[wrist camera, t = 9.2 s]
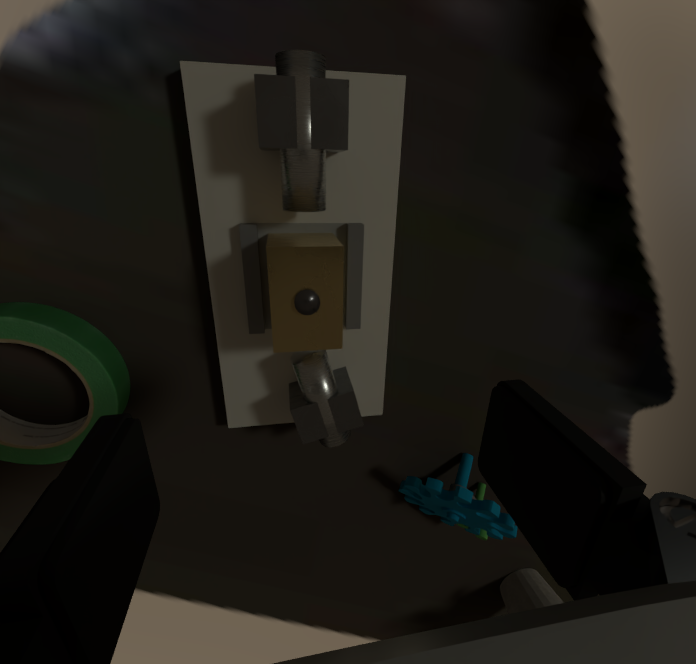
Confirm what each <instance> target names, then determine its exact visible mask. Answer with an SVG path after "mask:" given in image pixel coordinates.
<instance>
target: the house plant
mask: <svg viewBox="0 0 696 664" xmlns="http://www.w3.org/2000/svg"><path fill="white" fill-rule="evenodd" d="M500 592H501V595H502V598H503V601H504V604H505V606H506V609H507V612H508V614H511V613H516V612H521V611H526V610H531V609H536V608H541V607H546V606H551V605H556V604H561V603H564V602H563V601H562V600H561V599H560V598H559V596H558V595H557V594H556V593H555V592H554V591H553V589H552V588H551V587H550V586H549V585H548V584H547V582H546V581H545V580H544V579H543V578H542V576H541V575H540V574H539V573H538V572H537V571H536V570H534V569H531V568H525V569H520V570H517V571H515V572H513V573H511V574H510V575H508V576H507V577H506V578H505V579H504V580H503V581H502V583H501V585H500Z"/></svg>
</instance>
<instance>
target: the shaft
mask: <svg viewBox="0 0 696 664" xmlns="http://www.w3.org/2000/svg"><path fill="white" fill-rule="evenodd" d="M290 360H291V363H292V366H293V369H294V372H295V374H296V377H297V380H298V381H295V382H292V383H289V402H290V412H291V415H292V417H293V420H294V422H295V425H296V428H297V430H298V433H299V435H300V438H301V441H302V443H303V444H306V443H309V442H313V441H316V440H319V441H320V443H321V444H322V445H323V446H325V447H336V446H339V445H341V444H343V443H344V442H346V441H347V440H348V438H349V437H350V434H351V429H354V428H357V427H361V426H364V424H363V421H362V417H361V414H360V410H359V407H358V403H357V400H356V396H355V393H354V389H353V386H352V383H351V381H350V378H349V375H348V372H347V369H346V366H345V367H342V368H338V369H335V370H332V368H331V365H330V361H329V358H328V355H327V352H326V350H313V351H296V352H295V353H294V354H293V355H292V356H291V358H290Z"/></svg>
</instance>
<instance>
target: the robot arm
mask: <svg viewBox="0 0 696 664" xmlns="http://www.w3.org/2000/svg"><path fill="white" fill-rule="evenodd" d="M478 467H479V470H480V472H481V474H482V476H483V477H484V478H485V480H486V481H487V483H488V484H489V486H490V487H491V489H492V490H493V491H494V493H495V494H496V496H497V497H498V499H499V500H500V502H501V503H502V504H503V506H504V507H505V509H506V510H507V512H508V513H509V515H510V516H511V517H512V519H513V520H514V522H515V523H516V525H517V526H518V528H519V529H520V531H521V532H522V533H523V535H524V536H525V538H526V539H527V541H528V542H529V544H530V545H531V546H532V548H533V549H534V551H535V552H536V554H537V555H538V557H539V558H540V559H541V561H542V562H543V564H544V565H545V567H546V568H547V570H548V571H549V572H550V574H551V575H552V577H553V578H554V580H555V581H556V582H557V583H558V585H560V586H561V587H563V588H566V589H567V591H568V592H569V594H570V595H571V597H572V598H573V599H574V601H570V602H565V603H561V604H556V605H551V606H546V607H541V608H536V609H531V610H526V611H521V612H516V613H511V614H506V615H501V616H496V617H492V618H487V619H482V620H477V621H472V622H467V623H463V624H458V625H453V626H448V627H443V628H439V629H434V630H429V631H424V632H419V633H415V634H410V635H405V636H400V637H396V638H391V639H386V640H381V641H377V642H372V643H368V644H362V645H358V646H353V647H348V648H343V649H339V650H334V651H329V652H325V653H320V654H315V655H311V656H306V657H301V658H297V659H292V660H287V661H283V662H278V663H274V664H696V499H694V498H691V497H688V496H686V495H682V494H678V493H674V492H660V493H656V494H654V495H653V496H652V498H651V499H648V498H647V497H646V496H645V495H644V494H643V492H644V489H645V488H646V483H644V482H643V481H642V480H641V479H639V478H638V477H637V476H636V475H635V474H634V473H632V472H631V471H630V470H629V469H628V468H626V467H625V466H624V465H623V464H622V463H620V462H619V461H618V460H617V459H616V458H615V457H613V456H612V455H611V454H610V453H609V452H607V451H606V450H605V449H604V448H603V447H601V446H600V445H599V444H598V443H597V442H595V441H594V440H593V439H592V438H591V437H589V436H588V435H587V434H586V433H585V432H583V431H582V430H581V429H580V428H579V427H577V426H576V425H575V424H574V423H573V422H572V421H570V420H569V419H568V418H567V417H566V416H564V415H563V414H562V413H561V412H560V411H558V410H557V409H556V408H555V407H554V406H552V405H551V404H550V403H549V402H548V401H546V400H545V399H544V398H543V397H542V396H540V395H539V394H538V393H537V392H536V391H534V390H533V389H532V388H531V387H530V386H528V385H527V384H526V383H525V382H524V381H522V380H509V381H501V382H499V383H498V384H497V387H494V388H493V389H492V393H491V398H490V403H489V408H488V412H487V417H486V422H485V427H484V432H483V437H482V442H481V447H480V452H479V457H478ZM159 511H160V501H159V496H158V492H157V488H156V484H155V480H154V476H153V472H152V468H151V463H150V459H149V455H148V451H147V447H146V443H145V439H144V435H143V431H142V427H141V423H140V421H139V419H132V417H131V415H130V414H128V413H127V414H116V415H104V416H101V417H100V418H99V419H98V420H97V421H96V423H95V424H94V426H93V427H92V429H91V430H90V431H89V433H88V434H87V436H86V437H85V439H84V440H83V441H82V443H81V444H80V446H79V447H78V449H77V450H76V451H75V453H74V454H73V456H72V457H71V459H70V460H69V461H68V463H67V464H66V466H65V467H64V469H63V470H62V471H61V473H60V474H59V476H58V477H57V479H55V480H53V481H52V482H51V483H50V484H49V486H48V487H47V488H46V490H45V491H44V492H43V494H42V495H41V497H40V498H39V499H38V501H37V502H36V504H35V505H34V506H33V508H32V509H31V511H30V512H29V513H28V515H27V516H26V518H25V519H24V521H23V522H22V523H21V525H20V526H19V528H18V529H17V530H16V532H15V533H14V535H13V536H12V537H11V539H10V540H9V542H8V543H7V544H6V546H5V547H4V549H3V550H2V552H1V553H0V664H110V663H111V660H112V657H113V654H114V651H115V648H116V644H117V642H118V638H119V635H120V632H121V629H122V626H123V623H124V620H125V617H126V614H127V611H128V608H129V605H130V602H131V599H132V596H133V593H134V590H135V587H136V584H137V581H138V577H139V574H140V571H141V568H142V565H143V562H144V559H145V556H146V553H147V550H148V547H149V544H150V541H151V538H152V535H153V532H154V529H155V526H156V523H157V519H158V516H159ZM598 594H599V595H600V596H597V595H598Z"/></svg>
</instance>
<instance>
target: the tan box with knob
mask: <svg viewBox="0 0 696 664" xmlns="http://www.w3.org/2000/svg"><path fill="white" fill-rule="evenodd" d="M266 253H267V268H268V282H269V296H270V310H271V324H272V338H273V352H274V353H280V352H296V351H313V350H329V349H343V268H344V246H343V245H342V243H341V242H340V241H339V240H338V239H337V238H336V236H335V235H334V234H333V233H268V238H267V245H266Z"/></svg>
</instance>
